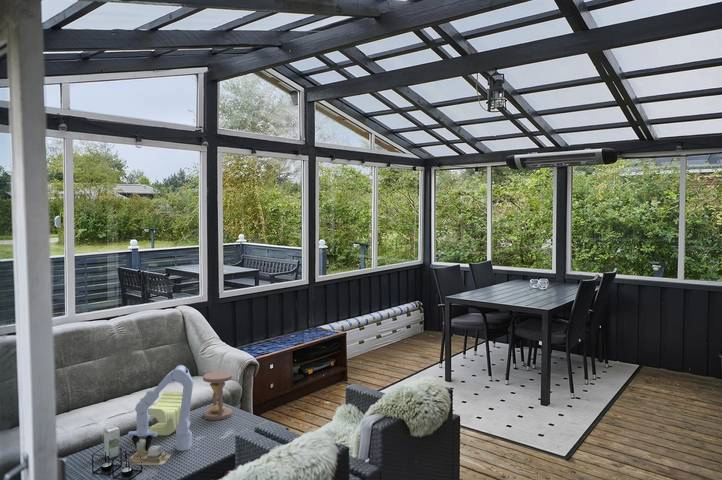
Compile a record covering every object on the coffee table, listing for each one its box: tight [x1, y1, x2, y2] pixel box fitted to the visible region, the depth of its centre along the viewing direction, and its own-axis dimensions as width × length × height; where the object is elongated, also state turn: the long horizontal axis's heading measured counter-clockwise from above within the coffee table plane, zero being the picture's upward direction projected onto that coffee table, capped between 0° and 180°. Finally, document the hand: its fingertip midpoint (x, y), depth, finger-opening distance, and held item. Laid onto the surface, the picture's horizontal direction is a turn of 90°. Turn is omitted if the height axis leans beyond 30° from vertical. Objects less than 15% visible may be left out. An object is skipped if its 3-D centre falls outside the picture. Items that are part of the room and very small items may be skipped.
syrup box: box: [103, 425, 121, 460], centre depth 284 cm, size 6×6×14 cm
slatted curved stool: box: [148, 390, 183, 436], centre depth 318 cm, size 30×16×18 cm, turn 173°
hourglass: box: [202, 371, 233, 421], centre depth 343 cm, size 18×18×25 cm
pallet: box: [122, 450, 173, 466], centre depth 278 cm, size 13×20×3 cm, turn 88°
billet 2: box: [148, 445, 162, 458], centre depth 278 cm, size 4×4×6 cm
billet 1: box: [136, 438, 147, 452], centre depth 289 cm, size 4×4×6 cm
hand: (142, 449), depth 289 cm, fingers open, 5 cm apart
